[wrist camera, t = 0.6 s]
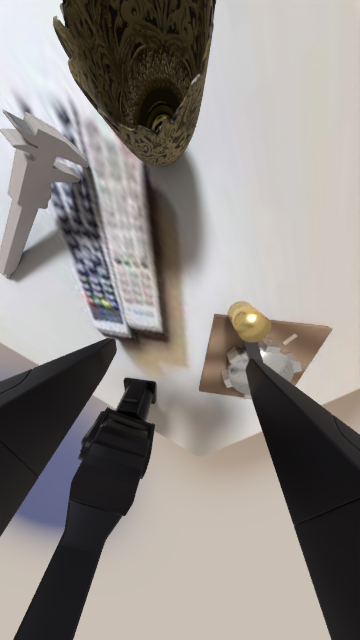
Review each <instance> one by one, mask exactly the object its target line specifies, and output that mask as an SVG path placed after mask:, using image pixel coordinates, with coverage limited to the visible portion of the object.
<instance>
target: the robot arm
mask: <svg viewBox="0 0 360 640" xmlns="http://www.w3.org/2000/svg"><path fill="white" fill-rule="evenodd" d="M116 351H117V348H116V341H115V339H112V338H106V339H104V340H101V341H99V342H96V343H94V344H92V345H89V346H87V347H84V348H82V349H79V350H77V351H74V352H72V353H70V354H67V355H65V356H62V357H60V358H57V359H55V360H52V361H50V362H48V363H45V364H43V365H40V366H38V367H35V368H33V369H30V370H28V371H25V372H23V373H21V374H18V375H16V376H13V377H10V378H8V379H5V380H3V381H0V536H1V535H2V533H3V532H4V530H5V528H6V527H7V525H8V524H9V522H10V521H11V519H12V517H13V516H14V515H15V513H16V512H17V510H18V508H19V507H20V505H21V504H22V502H23V501H24V499H25V497H26V496H27V495H28V493H29V491H30V490H31V488H32V487H33V485H34V484H35V482H36V481H37V479H38V476H40V474H41V473H42V471H43V470H44V468H45V466H46V465H47V463H48V462H49V460H50V459H51V457H52V456H53V454H54V453H55V451H56V449H57V448H58V446H59V445H60V443H61V442H62V440H63V439H64V437H65V436H66V434H67V432H68V431H69V429H70V428H71V426H72V425H73V423H74V422H75V420H76V419H77V417H78V416H79V414H80V412H81V411H82V409H83V408H84V406H85V405H86V403H87V401H88V400H89V399H90V397H91V395H92V394H93V392H94V391H95V389H96V388H97V386H98V385H99V383H100V382H101V380H102V378H103V377H104V375H105V373H106V372H107V370H108V368H109V366H110V364H111V362H112V360H113V358H114V356H115V354H116ZM246 375H247V380H248V385H249V389H250V394H251V398H252V401H253V404H254V407H255V410H256V413H257V416H258V419H259V422H260V425H261V428H262V431H263V434H264V437H265V440H266V443H267V446H268V449H269V452H270V455H271V458H272V461H273V464H274V467H275V470H276V473H277V476H278V479H279V482H280V485H281V488H282V491H283V494H284V497H285V500H286V503H287V506H288V510H289V513H290V516H291V519H292V521H293V524H294V528H295V531H296V534H297V537H298V540H299V543H300V546H301V549H302V552H303V555H304V558H305V561H306V564H307V567H308V570H309V573H310V576H311V579H312V582H313V585H314V588H315V591H316V594H317V598H318V600H319V603H320V607H321V610H322V612H323V615H324V618H325V621H326V625H327V628H328V631H329V634H330V637H331V640H360V434H358V433H357V432H355V431H354V430H353V429H351V428H350V427H349V426H347V425H346V424H345V423H343V422H342V421H341V420H339V419H338V418H337V417H335V416H334V415H332V414H331V413H330V412H329V411H327V410H326V409H325V408H323V407H322V406H321V405H319V404H318V403H317V402H315V401H314V400H313V399H311V398H310V397H309V396H307V395H306V394H305V393H303V392H302V391H301V390H299V389H298V388H297V387H295V386H294V385H293V384H291V383H290V382H289V381H287V380H286V379H285V378H283V377H282V376H281V375H279V374H278V373H277V372H275V371H274V370H273V369H271V368H270V367H269V366H267V365H266V364H265V363H263V362H262V361H261V360H259V359H257V358H250V359H249V362H248V364H247V366H246ZM124 387H125V392H124V394H123V396H122V398H121V400H120V402H119V404H118V406H117V408H116V410H112V409H110V408H108V407H107V409H106V410H105V411H102V412H101V413H100V415H99V416H98V418H97V420H96V421H95V423H94V424H93V426H92V427H91V428H90V430H89V431H88V432H87V434H86V435H85V437H84V438H83V440H82V442H81V444H82V449H81V451H80V452H81V453H80V455H79V458H78V460H81V461H82V463H81V464H80V467H79V468H78V470H77V472H76V474H75V476H74V478H73V480H72V483H71V489H70V496H69V503H68V510H67V518H66V525H65V530H64V533H63V535H62V537H61V540H60V541H59V544H58V546H57V548H56V550H55V552H54V554H53V556H52V558H51V561H50V563H49V565H48V567H47V569H46V571H45V573H44V576H43V578H42V580H41V582H40V584H39V586H38V588H37V591H36V593H35V595H34V597H33V599H32V601H31V603H30V605H29V607H28V610H27V612H26V614H25V616H24V618H23V620H22V622H21V625H20V627H19V629H18V631H17V633H16V635H15V637H14V640H73V638H74V635H75V632H76V629H77V626H78V623H79V620H80V617H81V613H82V610H83V607H84V604H85V601H86V598H87V595H88V592H89V589H90V586H91V583H92V580H93V577H94V574H95V570H96V568H97V564H98V561H99V558H100V555H101V552H102V549H103V546H104V543H105V541H106V539H107V537H108V536H109V534H110V533H111V532H112V530H113V529H114V527H115V526H116V524H117V523H118V522H119V520H120V519H121V517H122V516H125V515H126V514H127V512H128V510H129V509H130V507H131V505H132V504H133V501H134V498H135V494H136V490H137V487H138V483H139V480H140V479H142V478H143V476H144V474H145V472H146V469H147V466H148V463H149V459H150V455H151V450H152V442H153V435H154V428H155V424H153V423H152V424H151V423H148V422H146V419H147V415H148V412H149V408H150V405H151V404H155V402H156V383H155V382H154V381H146V380H139V379H131V378H125V379H124Z"/></svg>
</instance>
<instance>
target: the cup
mask: <svg viewBox="0 0 360 640" xmlns="http://www.w3.org/2000/svg"><path fill="white" fill-rule="evenodd" d="M215 4H216V0H63V3H61V4H60V9H61V11H62V14H63V17H64V21H65V26H64V25H63V24H62V23H61V21H60V20H57V16H54V17H53V26H54V29H55V32H56V34H57V36H58V39H59V41H60V43H61V45H62V47H63V48H64V50H65V52H66V54H67V56H68V57H69V60H68V65H69V69H70V72H71V74H72V76H73V78H74V80H75V82H76V83H77V85H78V86H79V88H80V89H81V90H82V92H83V93H84V95H85V96H86V97H87V99H88V100H89V102H90V103H91V104H92V105H93V106H94V108H95V109H96V110H97V111H98V113H99V114H100V115H101V116H102V117H103V119H104V120H105V121H106V122H107V124H108V125H109V126H110V127H111V129H112V130H113V131H114V132H115V134H116V135H117V136H118V137H119V138H120V140H121V141H122V142H123V143H124V144H125V145H126V147H127V148H128V149H129V150H130V151H131V152H132V153H133V154H134V155H135V156H136V157H138V158H139V159H140V160H142V161H143V162H145V163H147V164H149V165H152V166H166V165H169V164H171V163H173V162H174V161H176V160H177V159H178V158H179V157H180V156H181V155H182V153H183V152H184V151H185V149H186V148H187V146H188V144H189V142H190V140H191V138H192V135H193V133H194V130H195V127H196V124H197V120H198V116H199V111H200V106H201V101H202V96H203V90H204V84H205V78H206V72H207V66H208V59H209V53H210V46H211V39H212V32H213V26H214V24H213V19H214V10H215Z"/></svg>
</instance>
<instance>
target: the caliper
mask: <svg viewBox="0 0 360 640" xmlns="http://www.w3.org/2000/svg"><path fill="white" fill-rule="evenodd" d="M2 110H3V109H2ZM3 113H4V114H5V115H6V117H7V118H8V119H9V120H10V122H11V123H12V124H13V126H14V127H15V128H16V129H17V130H15V129H0V131H1V132H2V134H3V135H4V136H5V137H6V139H7V140H8V141H9V142H10V143H11V145H12V146H13V147H14V148H16V151H15V156H14V161H13V167H12V172H11V178H10V183H9V189H8V195H9V196H10V197H11V198H12V202H11V207H10V211H9V215H8V219H7V224H6V228H5V232H4V236H3V241H2V245H1V249H0V273H1V274H2V275H3V276H5V277H6V278H7V279H9V278H10V276H11V274H12V273H13V272H14V271H15V270H16V268H17V267H18V264H19V261H20V259H21V256H22V253H23V250H24V247H25V244H26V241H27V239H28V236H29V233H30V230H31V228H32V225H33V222H34V219H35V217H36V214H37V211H38V208H42V209H46V208H47V207H48V201H49V200H50V198H51V188H50V186H51V183H52V182H75V183H78V182H79V180H80V177H79V176H78V175H77V173H76V172H75V170H74V169H73V168H70V167H68V166H67V165H65V164H62V163H60V162H57V161H55V159H56V155H57V156H59V157H62V158H64V159H67V160H69V161H71V162H74V163H76V164H79V165H81V166H83V167H85V168H87V169H88V162H87V161H86V159H85V158H84V156H83V155H82V154H81V152H80V151H79V150H78V149H77V148H76V147H75V146H74V145H73V144H72V143H71V142H70V141H68V140H67V139H66V138H65V137H64V136H63V135H62V134H61V133H60V132H59V131H58V130H57V129H55V128H54V127H52V126H50V125H49V124H47V123H45V122H43V121H41V120H40V119H38V118H36V117H34V116H32V115H30V114H29V113H27V112H25V116H24V120H21V119H19V118H18V117H16V116H14V115H12V114H10V113H9V112H7V111H5V110H3Z"/></svg>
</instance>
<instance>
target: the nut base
mask: <svg viewBox="0 0 360 640" xmlns="http://www.w3.org/2000/svg"><path fill="white" fill-rule="evenodd" d="M270 322H271V330H270V333H269V334H268V335H267V336H266V337H265V338H264V339H273V340H274V341H275V342H276V343H277V344H278V345H279V346H280V347H281V350H280V351H281V352H282V353H283V354H288V353H292V354H293V355H294V356H295V357H296V358H297V359H298V360H299V361H300V363H301V369H302V371H300V372H296V373H294V375H293V378H292V380H291V381H290V383H291V384H293V385H294V386H295V385H296V384H297V382H298V381H299V379H300V378H301V376H302V375H303V373H304V371H305V370H306V368H307V367H308V365H309V364H310V362H311V361H312V359H313V358H314V356H315V355H316V353H317V352H318V350H319V349H320V347H321V346H322V344H323V343H324V341H325V340H326V338H327V337H328V335H329V334H330V332H331V331H332V328H330V327H328V326H321V325H312V324H302V323H293V322H284V321H275V320H270ZM257 342H258V343H259V341H257ZM234 346H235V347H237V348H238V349H241V348H243V347H244V344H243V341H242V339H241V338H240V336H239V335H238V333H237V331H236V330H235V328H234V326H233V325H232V323H231V321H230V320H229V318H228V315H219V314H215V315H214V320H213V324H212V329H211V334H210V339H209V343H208V348H207V353H206V358H205V362H204V367H203V372H202V377H201V381H200V386H199V391H202V392H209V393H217V394H224V395H231V396H239V397H244V396H243V394H242V393H241V392H239V391H237V390H236V389H235V388H234V387H229V388H227V387H226V385H225V383H224V380H223V376H222V372H221V371H223V370H226V369H227V363H228V357H227V354H226V353H227V352H228V351H229V350H231V349H232V348H233V347H234Z"/></svg>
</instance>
